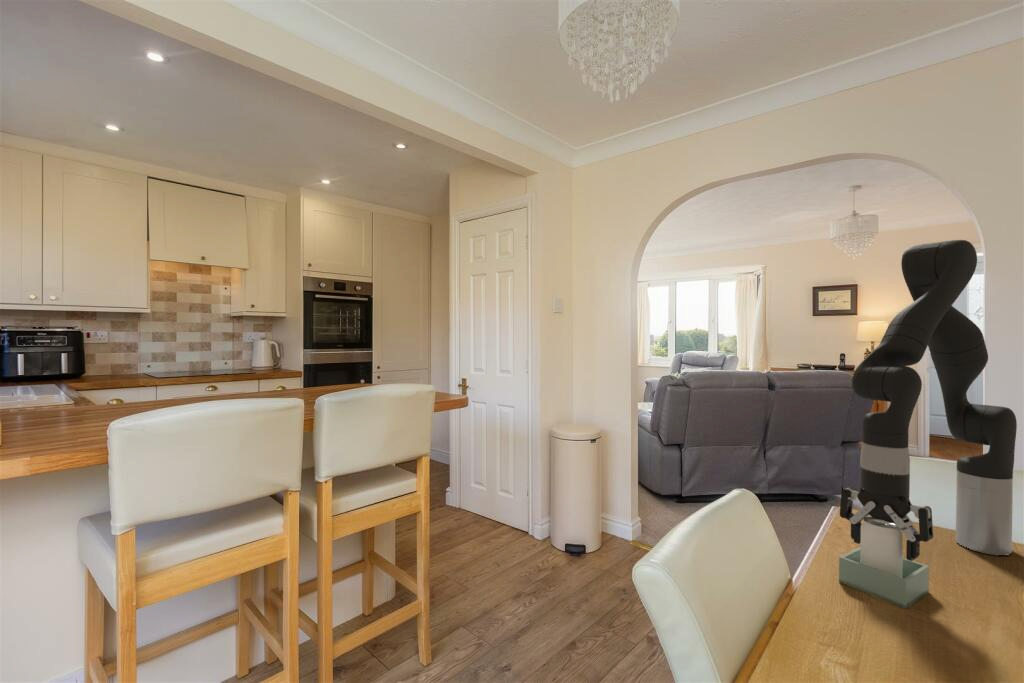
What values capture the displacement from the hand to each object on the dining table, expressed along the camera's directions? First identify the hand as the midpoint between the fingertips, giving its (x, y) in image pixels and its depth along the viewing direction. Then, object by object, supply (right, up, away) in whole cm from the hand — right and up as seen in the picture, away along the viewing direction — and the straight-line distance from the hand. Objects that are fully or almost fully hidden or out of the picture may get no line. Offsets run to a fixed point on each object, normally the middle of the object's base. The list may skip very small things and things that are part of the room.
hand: (883, 550), depth 91 cm
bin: (0, -7, 0) cm, 7 cm away
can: (0, -7, 0) cm, 7 cm away
